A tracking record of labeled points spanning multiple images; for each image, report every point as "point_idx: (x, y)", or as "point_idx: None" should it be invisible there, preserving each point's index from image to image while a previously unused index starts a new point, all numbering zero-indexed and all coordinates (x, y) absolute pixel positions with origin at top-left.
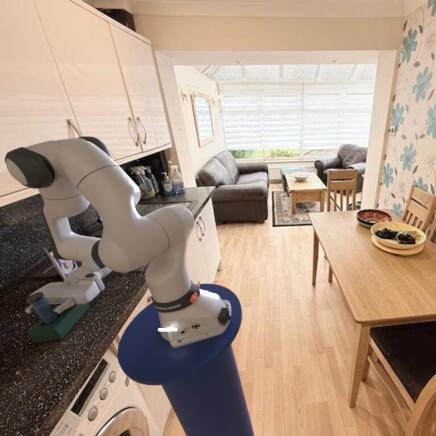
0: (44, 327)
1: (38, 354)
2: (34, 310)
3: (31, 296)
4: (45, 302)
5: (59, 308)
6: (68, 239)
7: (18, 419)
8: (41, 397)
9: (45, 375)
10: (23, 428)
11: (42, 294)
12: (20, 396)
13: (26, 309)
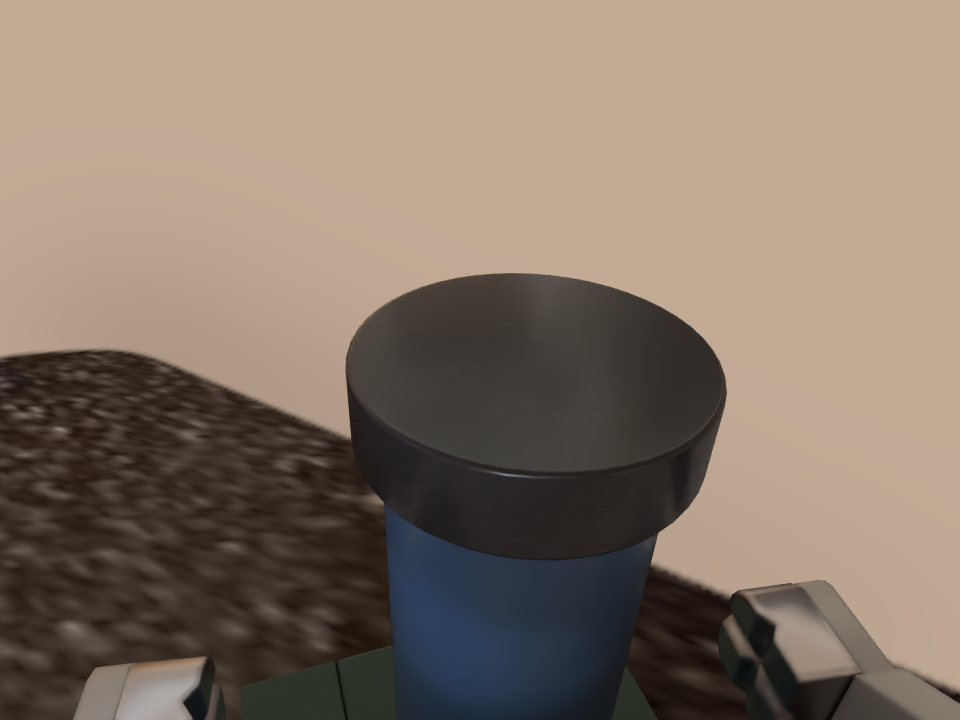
0: None
1: (374, 618)
2: (750, 683)
3: (622, 341)
4: (390, 591)
5: (83, 714)
6: None
7: (104, 371)
8: (51, 431)
9: (133, 510)
10: (45, 357)
11: (363, 413)
12: (197, 422)
13: (817, 584)
